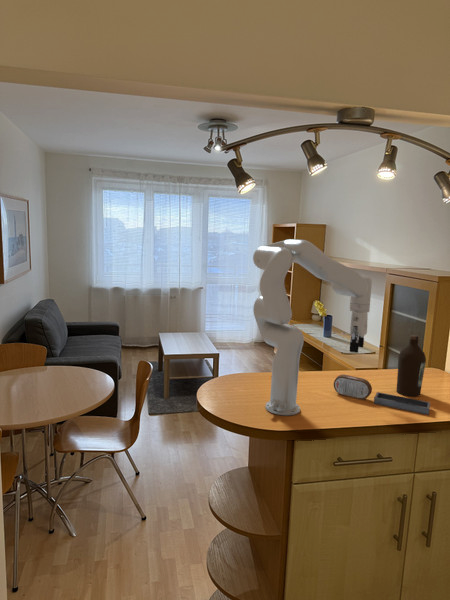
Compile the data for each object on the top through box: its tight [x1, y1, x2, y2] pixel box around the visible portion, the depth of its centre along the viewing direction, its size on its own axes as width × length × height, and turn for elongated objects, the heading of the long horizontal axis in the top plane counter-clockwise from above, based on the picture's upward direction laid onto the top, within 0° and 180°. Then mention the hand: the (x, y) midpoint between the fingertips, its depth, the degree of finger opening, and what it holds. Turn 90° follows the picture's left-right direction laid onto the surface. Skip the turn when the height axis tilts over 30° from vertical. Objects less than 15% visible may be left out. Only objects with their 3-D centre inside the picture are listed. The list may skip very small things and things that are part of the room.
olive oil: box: [395, 334, 427, 398], centre depth 181 cm, size 11×11×25 cm
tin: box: [333, 374, 373, 400], centre depth 174 cm, size 15×3×8 cm, turn 59°
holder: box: [373, 391, 431, 416], centre depth 167 cm, size 8×20×2 cm, turn 62°
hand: (356, 349), depth 172 cm, fingers open, 9 cm apart
